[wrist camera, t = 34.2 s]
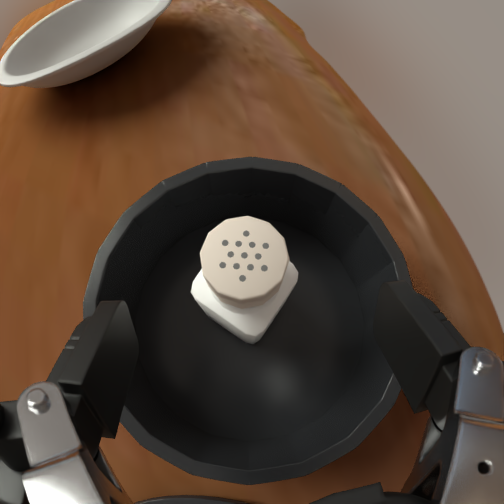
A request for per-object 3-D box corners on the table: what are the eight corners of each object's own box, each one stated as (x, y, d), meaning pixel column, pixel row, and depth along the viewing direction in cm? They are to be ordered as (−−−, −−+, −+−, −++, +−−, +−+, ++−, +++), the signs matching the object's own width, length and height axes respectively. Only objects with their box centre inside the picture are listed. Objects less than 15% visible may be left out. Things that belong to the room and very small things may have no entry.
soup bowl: (146, 4, 37) (140, -27, 31) (211, 56, 30) (207, 8, 24) (17, 70, 32) (1, 42, 26) (19, 157, 25) (-12, 120, 19)
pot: (340, 200, 23) (366, 148, 17) (387, 418, 18) (437, 432, 12) (125, 228, 22) (90, 182, 16) (145, 455, 17) (106, 485, 11)
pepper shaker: (202, 313, 20) (166, 268, 11) (237, 264, 21) (231, 187, 12) (253, 348, 19) (259, 334, 10) (288, 297, 20) (320, 241, 11)
